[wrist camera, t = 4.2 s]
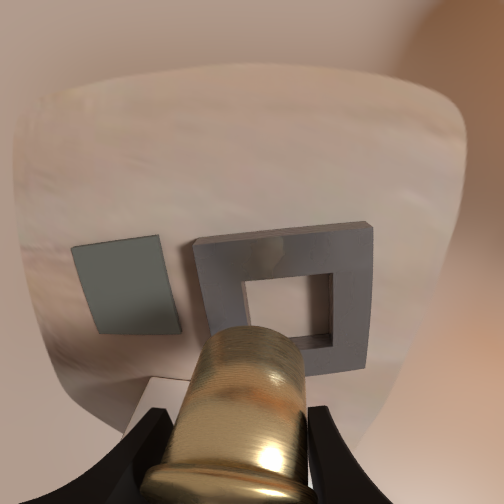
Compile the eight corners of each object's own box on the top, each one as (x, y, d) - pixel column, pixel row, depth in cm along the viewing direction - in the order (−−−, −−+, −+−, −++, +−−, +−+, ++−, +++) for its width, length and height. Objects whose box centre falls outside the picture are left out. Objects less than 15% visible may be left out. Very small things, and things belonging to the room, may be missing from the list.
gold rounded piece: (311, 401, 13) (314, 532, 6) (207, 402, 14) (173, 522, 7) (310, 315, 11) (324, 486, 5) (181, 321, 12) (108, 464, 5)
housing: (360, 355, 20) (365, 368, 18) (225, 367, 21) (222, 381, 19) (365, 221, 17) (373, 227, 15) (198, 237, 18) (192, 245, 16)
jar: (121, 386, 22) (65, 490, 11) (189, 361, 21) (141, 500, 9) (182, 442, 25) (155, 540, 13) (251, 426, 23) (240, 545, 12)
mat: (182, 331, 20) (180, 334, 19) (101, 331, 20) (99, 333, 20) (158, 234, 18) (156, 236, 17) (74, 246, 18) (71, 248, 18)
